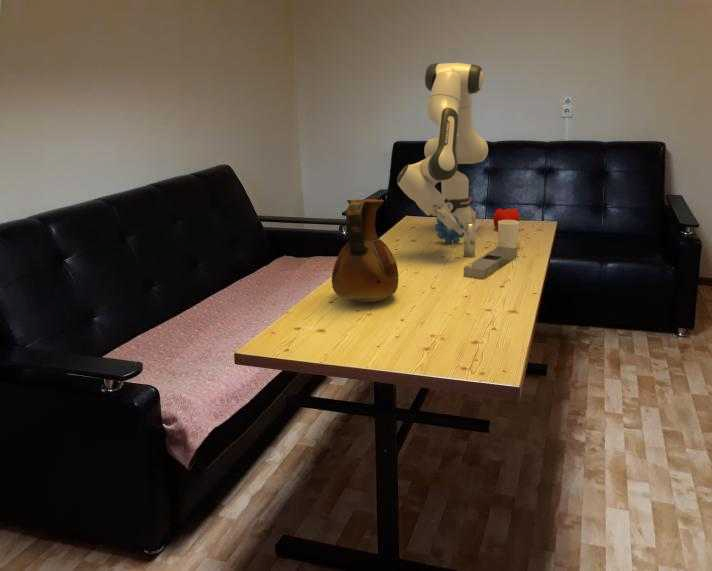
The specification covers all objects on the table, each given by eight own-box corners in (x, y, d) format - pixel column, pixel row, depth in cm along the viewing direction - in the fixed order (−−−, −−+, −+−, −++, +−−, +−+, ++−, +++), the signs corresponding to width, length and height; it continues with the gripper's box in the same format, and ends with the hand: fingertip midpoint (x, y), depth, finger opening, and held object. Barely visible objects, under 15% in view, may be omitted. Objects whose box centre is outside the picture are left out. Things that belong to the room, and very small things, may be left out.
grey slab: (498, 254, 251) (498, 246, 250) (516, 256, 247) (517, 248, 246) (463, 276, 225) (463, 267, 224) (483, 279, 221) (484, 270, 221)
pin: (466, 254, 252) (467, 222, 249) (476, 255, 250) (477, 223, 247) (461, 256, 249) (462, 224, 245) (472, 257, 247) (473, 225, 243)
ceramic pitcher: (404, 290, 212) (404, 193, 203) (390, 311, 193) (389, 206, 184) (343, 286, 217) (341, 192, 208) (324, 306, 198) (320, 204, 190)
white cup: (516, 245, 263) (518, 219, 260) (519, 250, 256) (520, 224, 253) (496, 245, 264) (497, 219, 261) (498, 250, 257) (499, 224, 254)
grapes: (433, 245, 265) (433, 215, 262) (434, 241, 271) (435, 211, 268) (463, 246, 263) (464, 215, 259) (464, 242, 269) (465, 212, 266)
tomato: (495, 233, 284) (496, 211, 281) (491, 227, 295) (492, 206, 292) (521, 233, 283) (523, 211, 280) (516, 226, 295) (517, 206, 292)
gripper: (442, 202, 233) (470, 230, 236) (436, 192, 253) (462, 218, 256) (429, 215, 235) (457, 242, 237) (424, 204, 254) (450, 230, 257)
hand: (460, 230), depth 247 cm, fingers open, 8 cm apart
